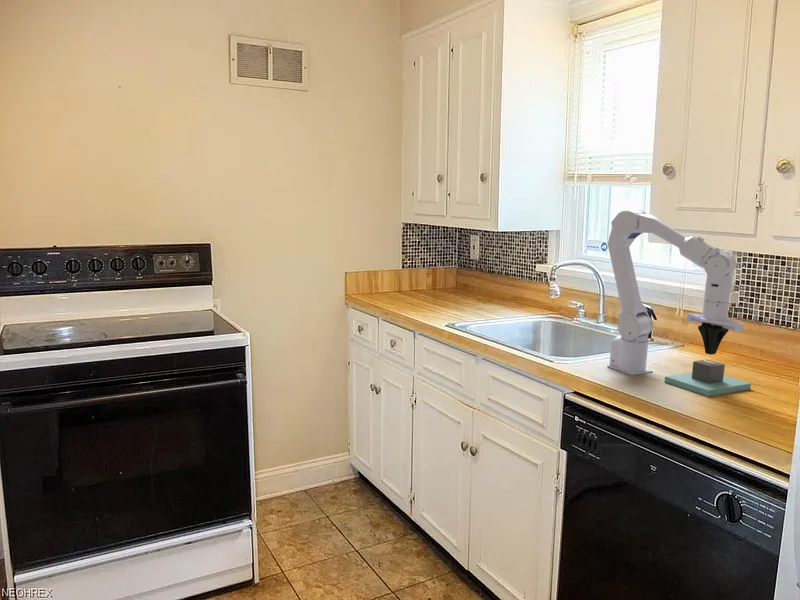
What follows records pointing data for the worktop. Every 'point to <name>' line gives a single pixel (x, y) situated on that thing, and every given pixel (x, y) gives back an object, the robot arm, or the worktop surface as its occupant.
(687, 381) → the base
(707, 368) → the grey drawer cube
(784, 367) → the worktop surface
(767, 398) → the worktop surface
